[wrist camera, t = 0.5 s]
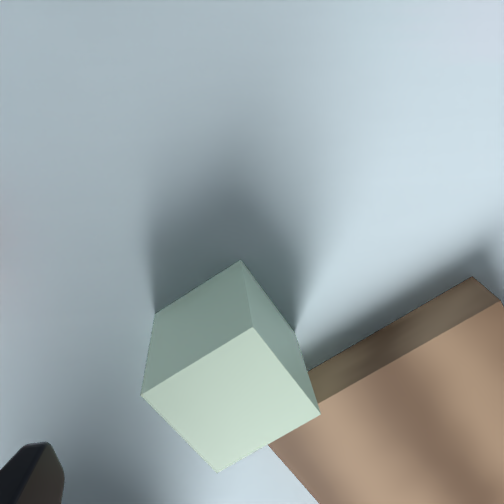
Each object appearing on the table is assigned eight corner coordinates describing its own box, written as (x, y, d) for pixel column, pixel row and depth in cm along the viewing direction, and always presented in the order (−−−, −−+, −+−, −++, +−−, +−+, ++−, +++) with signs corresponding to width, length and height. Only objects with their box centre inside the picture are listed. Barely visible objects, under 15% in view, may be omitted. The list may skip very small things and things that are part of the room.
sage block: (213, 380, 25) (216, 473, 20) (155, 313, 23) (140, 395, 18) (294, 332, 25) (321, 414, 19) (240, 259, 23) (252, 326, 17)
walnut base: (362, 524, 31) (377, 569, 29) (254, 395, 26) (260, 436, 24) (546, 428, 29) (582, 468, 27) (467, 272, 25) (500, 300, 22)
